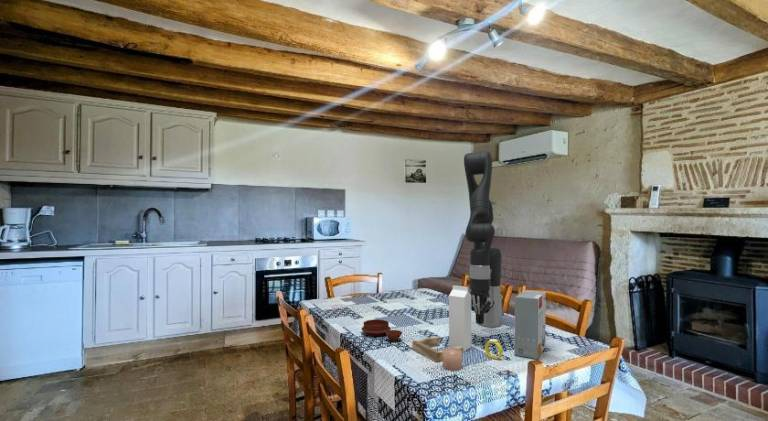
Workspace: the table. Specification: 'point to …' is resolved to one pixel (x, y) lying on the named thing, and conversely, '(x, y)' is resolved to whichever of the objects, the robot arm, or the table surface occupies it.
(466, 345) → the milk
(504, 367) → the table surface
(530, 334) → the hard drive box
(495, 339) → the watch
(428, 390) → the table surface
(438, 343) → the display frame
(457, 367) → the peach rounded capsule
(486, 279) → the robot arm
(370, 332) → the pottery
